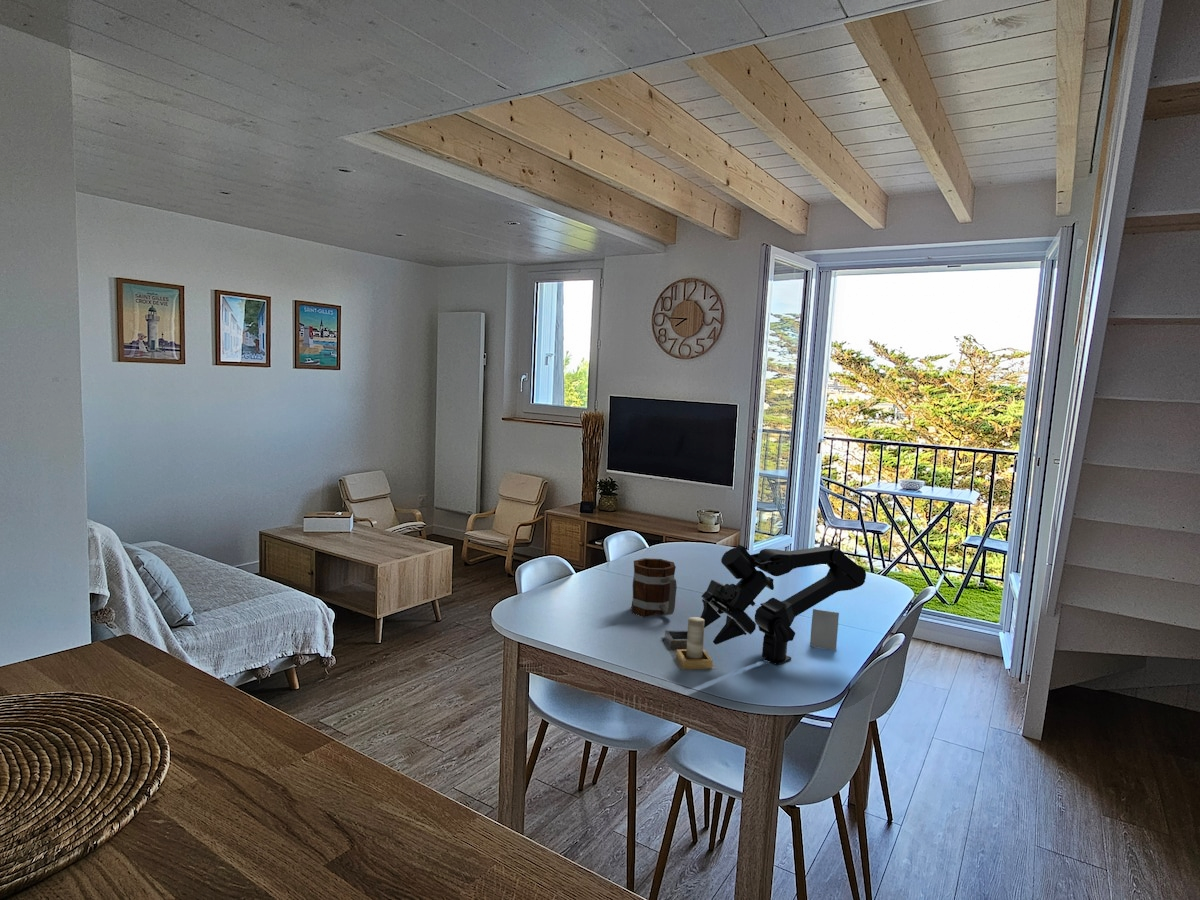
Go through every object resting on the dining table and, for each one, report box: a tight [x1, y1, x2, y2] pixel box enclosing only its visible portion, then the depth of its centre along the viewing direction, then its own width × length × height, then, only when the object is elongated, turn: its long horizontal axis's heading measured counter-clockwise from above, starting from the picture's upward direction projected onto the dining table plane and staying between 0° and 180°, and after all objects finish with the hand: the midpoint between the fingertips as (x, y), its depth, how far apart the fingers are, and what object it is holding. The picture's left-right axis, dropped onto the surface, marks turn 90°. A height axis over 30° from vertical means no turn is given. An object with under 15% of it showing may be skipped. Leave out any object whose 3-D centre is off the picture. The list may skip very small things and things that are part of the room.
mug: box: [630, 557, 677, 618], centre depth 211 cm, size 20×14×15 cm
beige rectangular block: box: [809, 608, 840, 652], centre depth 191 cm, size 4×7×10 cm, turn 69°
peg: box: [686, 616, 705, 660], centre depth 172 cm, size 4×4×11 cm
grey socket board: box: [660, 630, 717, 671], centre depth 179 cm, size 21×9×3 cm, turn 8°
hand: (705, 636), depth 173 cm, fingers open, 9 cm apart
